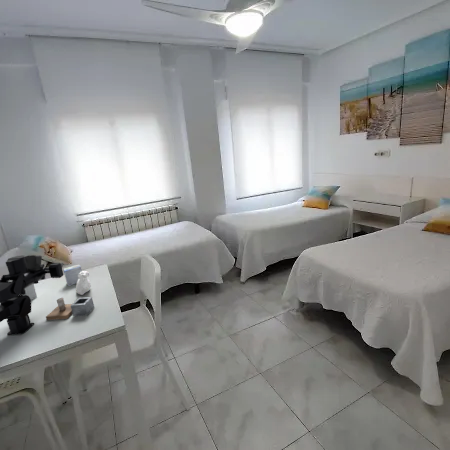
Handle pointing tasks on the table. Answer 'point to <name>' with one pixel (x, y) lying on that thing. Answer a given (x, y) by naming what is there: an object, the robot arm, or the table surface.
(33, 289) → the skincare box
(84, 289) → the bust
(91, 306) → the grey square sleeve
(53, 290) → the table surface
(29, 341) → the table surface
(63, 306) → the post stand
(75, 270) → the medicine box
